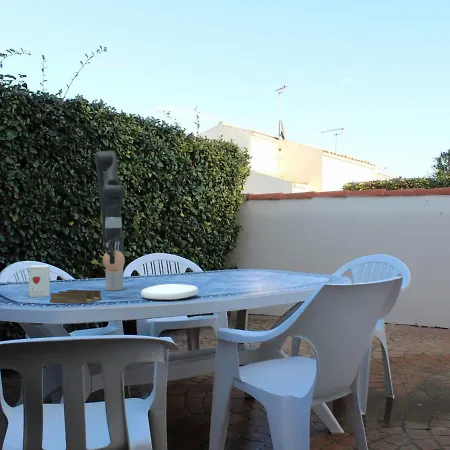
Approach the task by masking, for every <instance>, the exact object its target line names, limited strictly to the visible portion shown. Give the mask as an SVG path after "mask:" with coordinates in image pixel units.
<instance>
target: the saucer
mask: <svg viewBox="0 0 450 450" xmlns="http://www.w3.org/2000/svg"><path fill="white" fill-rule="evenodd" d="M114 256H115V263H114V264H110V256H109V255H107V252H106V251H105V253H104V255H103V257H102V264H103V266H104V267H105V273H106V272H113V273H119V272H121V271H117V270H120V269H121V268H122V267H123V268H124V265H125V262H126V261H125V260H126V259H125V255H124V253H123V254H122V253H121V252H120V251H119V250H116V251H115V255H114ZM106 269H107V270H109V271H106Z"/></svg>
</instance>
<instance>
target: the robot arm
mask: <svg viewBox="0 0 450 450" xmlns="http://www.w3.org/2000/svg"><path fill="white" fill-rule="evenodd" d="M94 154H95V155H94V161H95V162H94V163H95V167H96V173H97V174H96V175H97V181H98V182H97V183H98V191H99V192H98V194H99V204H100V213H101V226H102V228H101V229H102V231H101V232H102V242H103V244H104V246H105V253H106V252H107V255H109V256H110V264H114V263H115V256H114V255H115V251H116V250H119V251H120V252H121V253H122V254H123V255H124V246H125V245H124V244H125V243H124V241H125V232H124V230H123V229H122V205H123V200H124V197H125V195H126V193H125V187H124V186H123V185H120V181H119V177H118V175H119V174H118V171H119V169H118V168H119V166H118V164H119V163H118V157H117V156H118V155H117V153H116V152H115V151H114V150H102V151H96V152H95V153H94ZM104 170H105V172H104ZM106 271H109V270H107V269H106V268H105V291H122V290H124V266H123V267H122V268H121V269H120V270H117V271H121V272H119V273H113V272H106Z"/></svg>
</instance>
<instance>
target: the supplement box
mask: <svg viewBox="0 0 450 450" xmlns="http://www.w3.org/2000/svg"><path fill="white" fill-rule="evenodd" d="M50 267H51V266H50V265H48V264H43V265H41V264H39V265H38V264H37V265H28V290H27V291H28V292H27V293H28V297H30V298H38V297H39V298H40V297H43V298H45V297H50V283H51V282H50V280H51V279H50V277H51V275H50V271H51V270H50V269H51V268H50Z"/></svg>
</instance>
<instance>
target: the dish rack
mask: <svg viewBox="0 0 450 450" xmlns="http://www.w3.org/2000/svg"><path fill="white" fill-rule="evenodd" d="M101 294H102V293H101V290H99V289H98V290H97V289H96V290H95V289H94V290H93V289H66V291H65V290H64V291H62V290H60V291H58V292H51V293H50V299H49V303H50V302H52V304H74V303H88V304H91V303H95V302H98V301H101V300H102V299H103V297H102V295H101ZM97 300H98V301H97ZM94 301H95V302H94ZM90 302H91V303H90Z"/></svg>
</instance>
